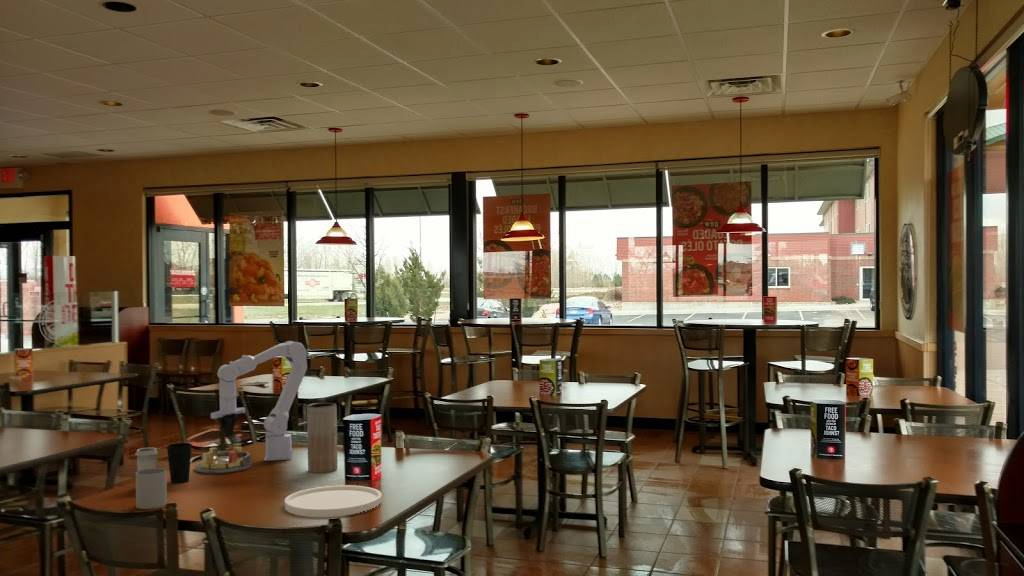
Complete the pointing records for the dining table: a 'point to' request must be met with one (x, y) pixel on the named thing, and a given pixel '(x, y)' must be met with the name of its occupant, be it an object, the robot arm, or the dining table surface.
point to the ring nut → (234, 457)
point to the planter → (322, 437)
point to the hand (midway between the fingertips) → (228, 435)
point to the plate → (332, 501)
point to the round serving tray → (245, 465)
